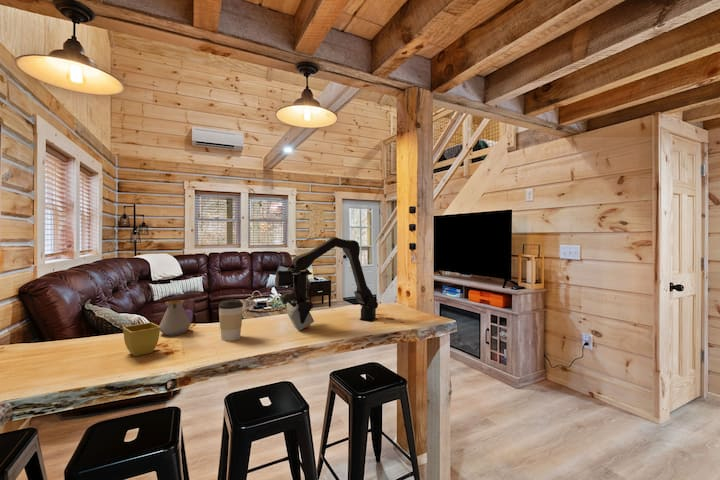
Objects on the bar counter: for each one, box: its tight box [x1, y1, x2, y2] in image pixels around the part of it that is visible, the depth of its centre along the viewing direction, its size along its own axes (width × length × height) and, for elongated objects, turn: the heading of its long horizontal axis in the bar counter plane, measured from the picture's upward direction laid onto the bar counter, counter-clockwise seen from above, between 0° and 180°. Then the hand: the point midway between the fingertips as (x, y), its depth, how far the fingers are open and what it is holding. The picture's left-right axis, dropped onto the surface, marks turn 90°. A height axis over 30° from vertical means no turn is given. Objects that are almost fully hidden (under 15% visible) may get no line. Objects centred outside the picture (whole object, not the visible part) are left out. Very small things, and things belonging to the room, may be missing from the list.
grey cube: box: [286, 306, 315, 332], centre depth 143 cm, size 8×8×8 cm
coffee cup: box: [218, 298, 244, 342], centre depth 129 cm, size 9×9×15 cm
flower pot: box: [122, 322, 161, 357], centre depth 112 cm, size 9×9×9 cm
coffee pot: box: [158, 299, 192, 337], centre depth 130 cm, size 21×12×15 cm, turn 29°
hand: (299, 321), depth 143 cm, fingers closed on grey cube, 8 cm apart
